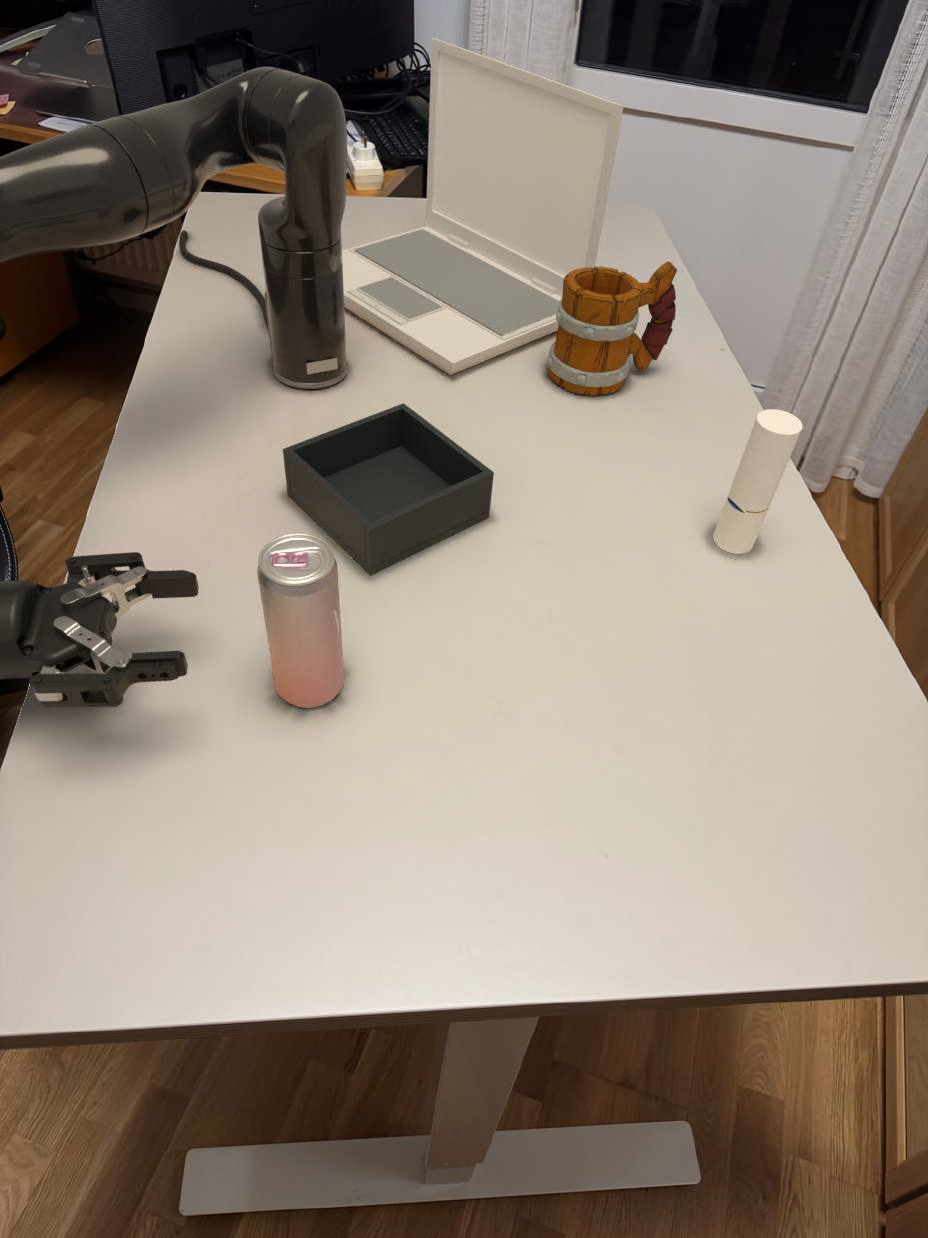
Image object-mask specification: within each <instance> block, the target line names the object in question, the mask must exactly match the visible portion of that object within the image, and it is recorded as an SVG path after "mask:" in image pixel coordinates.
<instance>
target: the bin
mask: <svg viewBox="0 0 928 1238" xmlns="http://www.w3.org/2000/svg"><path fill="white" fill-rule="evenodd" d="M282 456H283V465H284V474H285V483H286V493H287V496H288V497H289V498H290V499H291V500H292V501H293V502H294V503H295V504H297V505H298V507H300V509H301V510H302V511H304V512H305V513H306V515H308V516H309V517H310V518H311V520H313V521H314V523H316V524H317V525H318V526H319V527H320V528H321V529H322V530H323V531H324V532H326V534H327V535H328V536H330V538H331V539H333V540H334V541H335V542H336V543H337V544H338V545H339V546H340V547H341V549H343V550H344V551H345V552H346V553H347V554H348V555H349V556H350V557H351V558H352V559H353V560H354V561H355V562H356V563H357V564H358V565H359V566H360V567H361V568H362V569H363V570H364V571H366V572H367V574H368V575H370V576H372V575H374V574H376V573H379V572H381V571H382V570H384V569H386V568H389V567H390V566H393V565H395V564H397V563H399V562H401V561H404V560H405V559H407V558H409V557H411V556H413V555H416V554H417V553H419V552H421V551H423V550H426V549H427V548H430V547H431V546H434V545H436V544H437V543H440V542H442V541H444V540H446V539H448V538H450V537H453V536H454V535H456V534H458V533H460V532H462V531H464V530H467V529H468V528H471V527H472V526H474V525H476V524H478V523H479V524H480V523H481V522H482V521H485V520H487V519H489V518H490V512H491V503H492V494H493V485H494V476H495V475H494V474H495V473H494V471H493V470H492V469H490V468H489V467H488V466H486V465H485V464H484V463H482V462H481V461H480V460H479V459H478V458H476V457H475V456H473V455H472V454H471V453H469V452H468V451H467V450H465V448H463V447H462V446H461V445H459V444H458V443H456V442H455V441H454V440H452V439H451V438H450V437H448V436H447V435H446V434H445V433H443V432H442V431H441V430H440V429H438V427H436V426H434V425H433V424H432V423H430V422H429V421H428V420H426V419H425V418H424V417H422V416H421V415H420V414H419V413H418V412H416V411H414V410H413V409H412V408H411V407H409V406H408V405H407V404H405V403H400V404H398V405H394V406H393V407H390V408H387V409H384V410H382V411H378V412H377V413H374V414H371V415H368V416H366V417H363V418H361V419H358V420H355V421H353V422H350V423H347V424H345V425H343V426H340V427H337V428H335V429H332V430H328V431H327V432H324V433H322V434H318V435H316V436H313V437H310V438H308V439H305V440H302V441H300V442H297V443H295V444H292V445H289V446H287V447H285V448H282Z"/></svg>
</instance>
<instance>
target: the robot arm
mask: <svg viewBox="0 0 928 1238" xmlns="http://www.w3.org/2000/svg"><path fill="white" fill-rule="evenodd" d="M345 112H346V111H345V109H344V105H343V102H342V100H341V98H340V96H339V94H338V92H337V91H336V89H335V88H333V87H332V86H331V85H330V84H329V83H327V82H324V81H322V80H319V79H317V78H313V77H309V76H307V75H304V74H303V75H302V74H300V73H296V72H293V71H290V70H287V69H282V68H279V67H273V66H261V67H256V68H253V69H250V70H247V71H245V72H243V73H240V74H238V75H236V76H234V77H232V78H230V79H228V80H226V81H224V82H222V83H220V84H218V85H215V86H214V87H211V88H209V89H207V90H205V91H203V92H201V93H198V94H195V95H194V96H191V97H188V98H184V99H181V100H177V101H171V102H167V103H163V104H159V105H155V106H153V107H149V108H145V109H142V110H138V111H134V112H131V113H126V114H120V115H116V116H113V117H109V118H107V119H103V120H99V121H96V122H93V123H90V124H87V125H83V126H80V127H77V128H74V129H72V130H69V131H66V132H64V133H60V134H57V135H55V136H52V137H49V138H46V139H44V140H43V139H42V140H41V141H38V142H35V143H33V144H32V143H31V144H30V145H27V146H24V147H22V148H19V149H17V150H14V151H11V152H9V153H7V154H5V155H2V156H0V265H2V264H5V263H8V262H11V261H15V260H18V259H21V258H27V257H31V256H37V255H44V254H53V253H59V252H69V251H76V250H83V249H88V248H89V249H90V248H95V247H102V246H107V245H112V244H116V243H120V242H123V241H127V240H130V239H133V238H136V237H138V236H140V235H141V236H142V235H143V234H145V233H149V232H151V231H154V230H155V229H158V228H160V227H164V226H165V225H168V224H169V223H171V222H173V221H175V220H177V219H179V218H180V217H181V216H183V215H184V214H185V213H186V212H187V211H188V210H189V209H190V208H191V207H192V205H193V204H194V202H195V201H196V199H197V198H198V196H199V194H200V192H201V191H202V188H203V186H204V185H205V183H206V181H207V180H209V179H210V178H212V177H213V176H215V175H218V174H221V173H223V172H226V171H229V170H232V169H236V168H239V167H245V166H251V165H256V166H257V165H258V166H264V167H267V168H270V169H273V170H275V171H279V172H282V173H284V188H285V189H284V196H279V197H277V198H274V199H271V200H269V201H267V202H266V203H264V204H263V205H262V206H261V207H260V209H259V210H258V215H257V223H258V224H257V225H258V231H259V241H260V250H261V260H262V267H263V277H264V286H265V292H264V295H263V294H262V292H261V291H260V290H259V288H258V287H257V286H256V285H255V284H254V283H253V282H252V281H251V280H250V279H249V278H247V277H246V276H245V275H244V274H242V273H241V272H239V271H238V270H236V269H234V268H232V267H230V266H228V265H225V264H223V263H220V262H217V261H213V260H209V259H206V258H202V257H199V256H197V255H195V254H192V253H190V252H189V251H188V250H187V248H186V239H187V238H188V237H189V236H188V235H189V233H188V231H186V230H182V231H181V232H180V234H179V239H180V240H178V246H179V251H180V253H181V254H182V255H183V256H184V257H185V259H187V260H189V261H191V262H193V263H196V264H199V265H202V266H205V267H209V268H213V269H216V270H219V271H222V272H224V273H226V274H229V275H230V276H232V277H233V278H236V279H237V280H238V281H240V282H241V283H242V284H244V285H245V286H246V288H248V289H249V290H250V291H251V292H252V293H253V295H254V296H255V297H256V299H257V301H258V302H259V304H260V308H261V310H262V311H261V312H262V314H263V315H262V316H263V319H264V322H265V324H266V325H267V327H268V328H267V329H268V338H269V345H270V355H271V362H272V368H273V369H272V370H273V374H274V376H275V378H276V379H277V380H278V381H279V382H280V383H282V384H284V385H287V386H288V387H291V388H296V389H301V390H317V389H318V390H319V389H324V388H328V387H332V386H335V385H337V384H338V383H340V382H341V381H342V380H344V378H345V377H346V376H347V373H348V362H347V346H346V345H347V344H346V343H347V342H346V339H347V338H346V320H345V319H346V317H345V315H346V314H345V307H344V289H343V264H342V250H343V249H342V248H343V245H342V243H343V242H342V222H343V218H344V216H345V215H344V214H345V210H346V203H347V170H348V169H347V168H348V167H347V165H348V130H347V129H348V128H347V119H346V113H345ZM64 564H65V567H66V571H67V578H66V582H65V583H63V584H61V585H57V586H52V587H48V586H44V585H41V584H39V583H37V582H35V581H33V580H29V579H28V580H27V579H26V580H23V579H22V580H2V581H1V580H0V680H15V679H29V681H28V683H29V686H30V688H31V690H32V692H33V694H34V696H35V698H36V700H37V702H38V704H39V706H40V707H42V708H44V709H45V708H46V709H47V708H115V707H118V706H121V705H122V704H123V703H124V699H125V698H124V695H125V693H126V691H127V690H128V688H130V687H133V686H134V685H135V684H138V683H153V682H155V683H156V682H172V681H175V680H177V679H179V678H180V677H185V676H186V675H187V674H188V668H189V665H188V661H187V657H186V654H185V653H184V652H183V651H182V650H164V651H143V652H132V653H131V656H130V657H129V656H128V655H127V654H125V653H123V652H122V651H120V650H118V649H116V648H114V647H113V646H112V645H113V636H112V634H113V633H114V631H115V629H116V626H117V622H118V618H120V617H121V616H123V615H125V614H127V613H128V612H129V611H130V609H131V607H132V606H134V605H135V604H138V603H140V602H141V601H143V600H146V599H147V598H150V596H151V598H152V600H153V599H176V598H177V599H179V598H194V597H197V596H198V595H199V588H200V587H199V582H198V578H197V575H196V573H194V572H192V571H189V570H185V569H177V570H173V569H171V570H149V569H148V568H147V567H146V565H145V561H144V559H143V555H142V554H141V553H140V552H138V551H134V552H133V551H132V552H131V551H129V552H119V553H118V552H117V553H104V554H91V555H90V554H89V555H77V556H76V555H75V556H70V557H68V558H66V559H65V561H64ZM126 567H128V569H126V570H118V569H116V568H126ZM132 586H134V587H132ZM130 587H132V588H131V589H129V590H127V591H126V589H128V588H130ZM108 593H109V595H110V597H111V601H110V600H109V599H108V598H107V597H105V595H106V594H108ZM80 666H81V667H83V668H84V669H86V670H87V671H89V672H91V673H69V672H70V671H72V670H75V669H77V668H78V667H80Z"/></svg>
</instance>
